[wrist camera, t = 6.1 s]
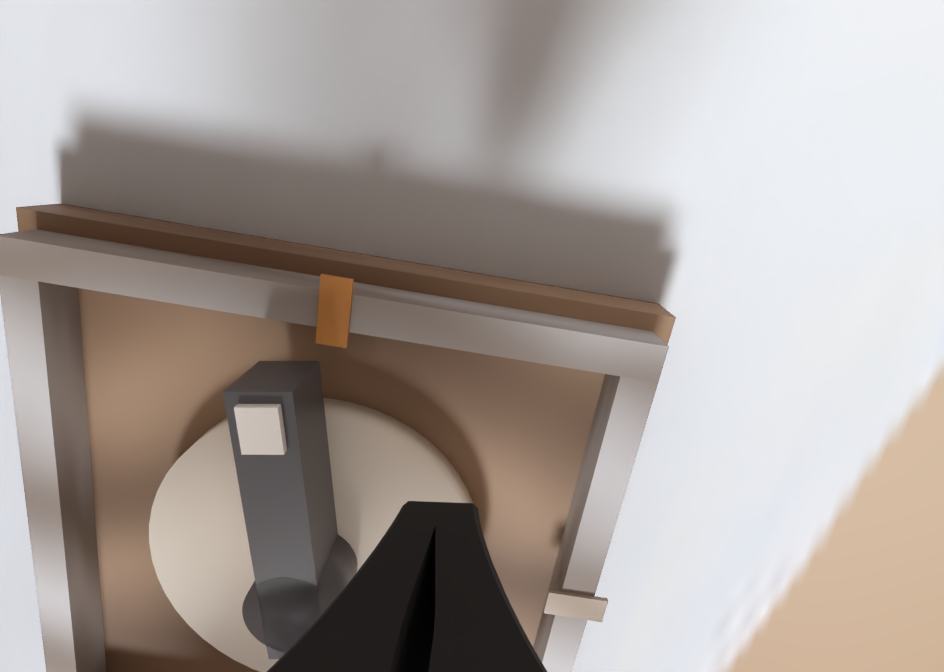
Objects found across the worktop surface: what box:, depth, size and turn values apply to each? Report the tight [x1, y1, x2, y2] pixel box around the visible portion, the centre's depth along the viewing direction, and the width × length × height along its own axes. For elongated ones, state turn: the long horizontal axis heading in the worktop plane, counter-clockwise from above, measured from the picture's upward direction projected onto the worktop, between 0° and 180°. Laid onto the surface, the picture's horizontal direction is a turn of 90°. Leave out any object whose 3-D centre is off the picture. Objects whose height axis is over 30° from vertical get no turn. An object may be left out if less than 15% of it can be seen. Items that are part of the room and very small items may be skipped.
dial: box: [149, 361, 473, 672], centre depth 15 cm, size 12×10×3 cm
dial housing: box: [0, 204, 676, 672], centre depth 17 cm, size 18×18×3 cm
